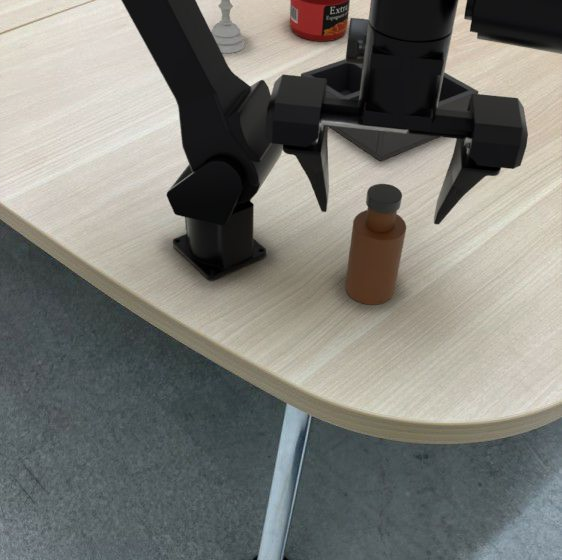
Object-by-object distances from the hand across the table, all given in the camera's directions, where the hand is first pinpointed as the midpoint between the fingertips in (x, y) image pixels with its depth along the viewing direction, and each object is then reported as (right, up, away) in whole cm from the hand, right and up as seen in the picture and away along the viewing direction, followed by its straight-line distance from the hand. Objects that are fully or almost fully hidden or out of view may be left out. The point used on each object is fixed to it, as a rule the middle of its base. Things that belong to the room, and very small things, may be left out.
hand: (380, 215), depth 65 cm
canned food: (-3, +33, +42) cm, 54 cm away
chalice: (-15, +30, +38) cm, 50 cm away
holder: (+4, +17, +27) cm, 32 cm away
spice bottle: (0, -5, +6) cm, 8 cm away
